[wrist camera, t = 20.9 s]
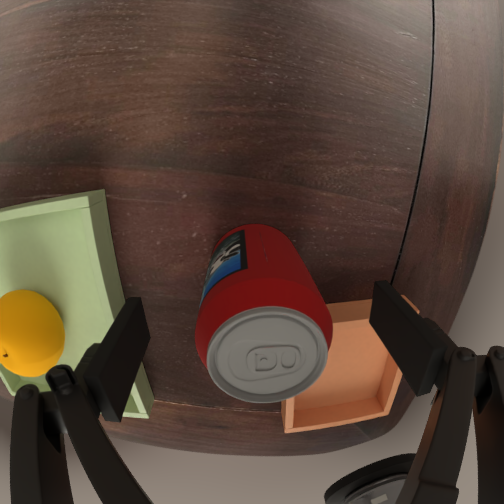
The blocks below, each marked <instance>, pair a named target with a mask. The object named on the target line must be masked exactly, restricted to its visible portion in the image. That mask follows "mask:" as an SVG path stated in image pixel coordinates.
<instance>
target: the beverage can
mask: <svg viewBox="0 0 504 504" xmlns="http://www.w3.org/2000/svg"><path fill="white" fill-rule="evenodd" d="M332 337H333V322H332V318H331V315H330V312H329V310H328V308H327V306H326V304H325V302H324V300H323V298H322V296H321V294H320V292H319V290H318V288H317V286H316V284H315V282H314V281H313V279H312V277H311V275H310V273H309V271H308V270H307V268H306V266H305V264H304V262H303V261H302V259H301V257H300V255H299V254H298V252H297V250H296V249H295V247H294V246H293V244H292V242H291V241H290V240H289V238H288V237H287V236H286V235H284V234H283V233H282V232H281V231H279V230H277V229H275V228H273V227H271V226H267V225H263V224H247V225H243V226H239V227H237V228H235V229H233V230H231V231H229V232H228V233H226V234H225V235H224V236H223V237H222V238H221V239H220V240H219V241H218V243H217V244H216V246H215V248H214V250H213V252H212V255H211V259H210V263H209V267H208V271H207V275H206V279H205V283H204V288H203V293H202V297H201V302H200V307H199V312H198V318H197V323H196V329H195V344H196V349H197V352H198V354H199V357H200V359H201V361H202V362H203V364H204V365H205V367H206V368H207V369H208V371H209V374H210V376H211V378H212V380H213V381H214V382H215V384H216V385H217V386H218V387H219V388H220V389H221V390H223V391H224V392H225V393H227V394H229V395H230V396H232V397H235V398H237V399H240V400H243V401H247V402H253V403H273V402H279V401H283V400H286V399H289V398H292V397H294V396H296V395H299V394H300V393H302V392H304V391H305V390H307V389H308V388H309V387H310V386H312V385H313V384H314V383H315V382H316V381H317V379H318V378H319V377H320V375H321V374H322V372H323V370H324V368H325V366H326V363H327V359H328V351H329V349H330V346H331V343H332Z"/></svg>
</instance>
